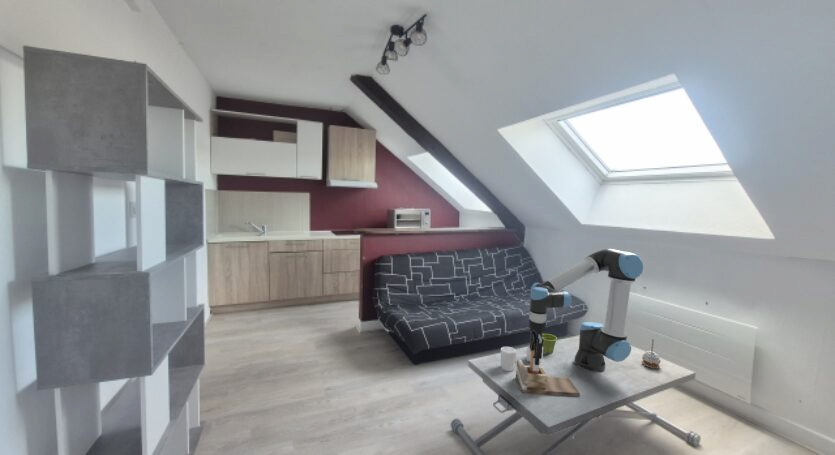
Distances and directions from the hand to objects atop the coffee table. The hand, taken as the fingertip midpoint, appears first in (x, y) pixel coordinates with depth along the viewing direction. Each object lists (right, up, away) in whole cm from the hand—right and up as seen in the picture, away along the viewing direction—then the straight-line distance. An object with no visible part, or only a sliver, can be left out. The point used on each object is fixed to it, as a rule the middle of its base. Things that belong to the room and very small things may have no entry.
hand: (534, 368), depth 162 cm
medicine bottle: (+9, -7, +27) cm, 30 cm away
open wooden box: (0, -7, +1) cm, 7 cm away
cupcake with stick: (+72, -9, +25) cm, 77 cm away
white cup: (-8, -7, +17) cm, 20 cm away
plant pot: (+21, -6, +39) cm, 44 cm away
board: (+6, -9, +1) cm, 11 cm away
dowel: (0, -5, +1) cm, 5 cm away
